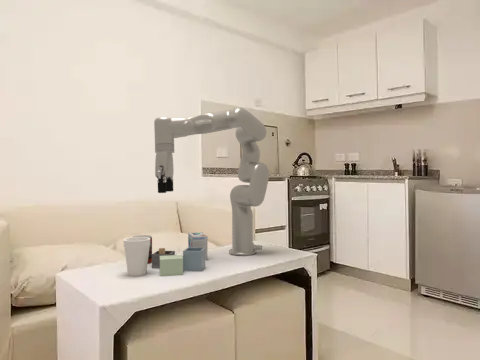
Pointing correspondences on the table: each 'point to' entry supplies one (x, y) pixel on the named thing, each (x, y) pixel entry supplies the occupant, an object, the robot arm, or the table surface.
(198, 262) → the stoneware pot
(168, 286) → the table surface
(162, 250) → the wooden dowel
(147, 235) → the canned food
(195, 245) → the light bulb box
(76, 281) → the table surface
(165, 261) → the pale green block
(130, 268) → the foam cup
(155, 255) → the metal tin
